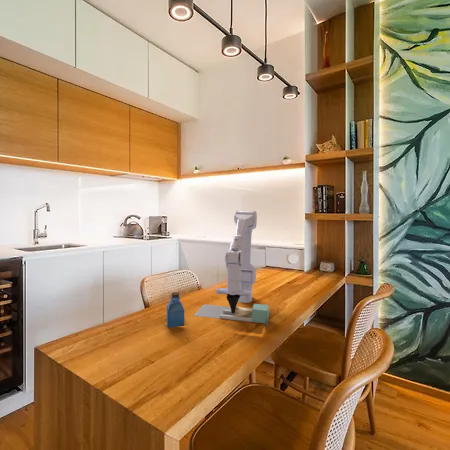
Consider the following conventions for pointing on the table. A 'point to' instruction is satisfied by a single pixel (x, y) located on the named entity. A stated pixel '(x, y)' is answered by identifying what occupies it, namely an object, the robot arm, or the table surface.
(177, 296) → the perfume bottle
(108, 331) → the table surface
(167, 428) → the table surface
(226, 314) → the board
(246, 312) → the slat
